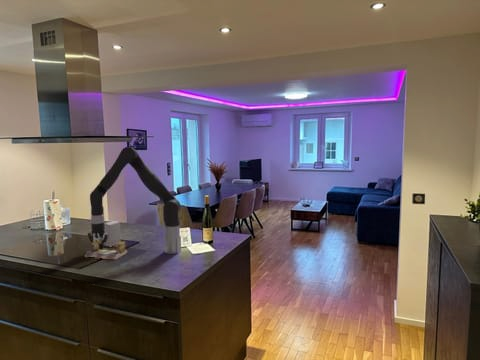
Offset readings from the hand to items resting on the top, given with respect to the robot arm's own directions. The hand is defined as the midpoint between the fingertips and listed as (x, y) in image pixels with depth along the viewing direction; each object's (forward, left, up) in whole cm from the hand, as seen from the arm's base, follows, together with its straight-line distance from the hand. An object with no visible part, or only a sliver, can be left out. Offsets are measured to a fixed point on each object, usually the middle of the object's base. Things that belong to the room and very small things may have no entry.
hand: (98, 248), depth 195 cm
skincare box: (+1, -16, -3) cm, 16 cm away
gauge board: (-6, +2, -3) cm, 7 cm away
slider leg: (0, +2, -1) cm, 2 cm away
